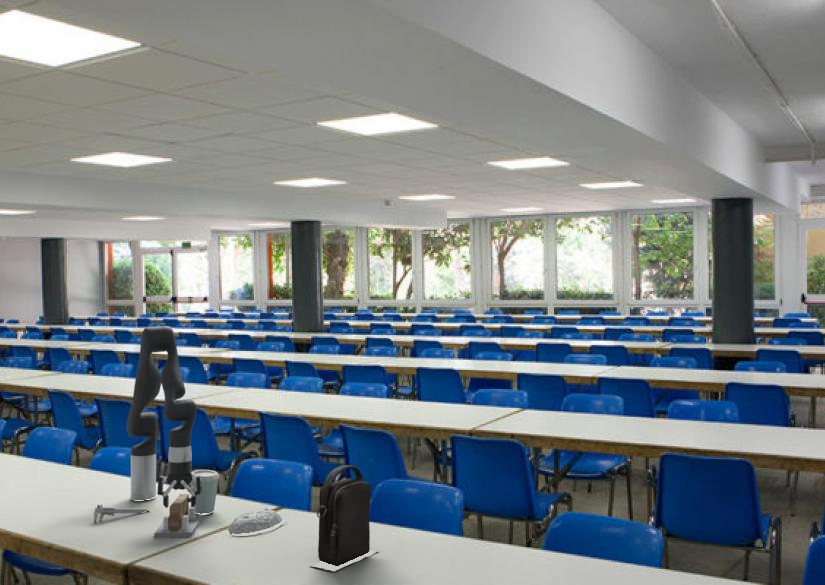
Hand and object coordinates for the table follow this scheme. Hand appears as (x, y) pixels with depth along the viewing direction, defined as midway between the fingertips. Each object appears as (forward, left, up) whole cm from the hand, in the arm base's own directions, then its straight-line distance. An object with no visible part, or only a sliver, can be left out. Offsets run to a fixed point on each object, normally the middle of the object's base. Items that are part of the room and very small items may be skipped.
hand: (179, 507), depth 265 cm
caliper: (-15, -23, -8) cm, 28 cm away
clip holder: (0, 0, -7) cm, 7 cm away
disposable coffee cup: (-18, +5, -7) cm, 20 cm away
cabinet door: (+1, 0, -6) cm, 6 cm away
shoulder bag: (+35, +56, -7) cm, 67 cm away
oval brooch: (0, +26, -8) cm, 27 cm away
